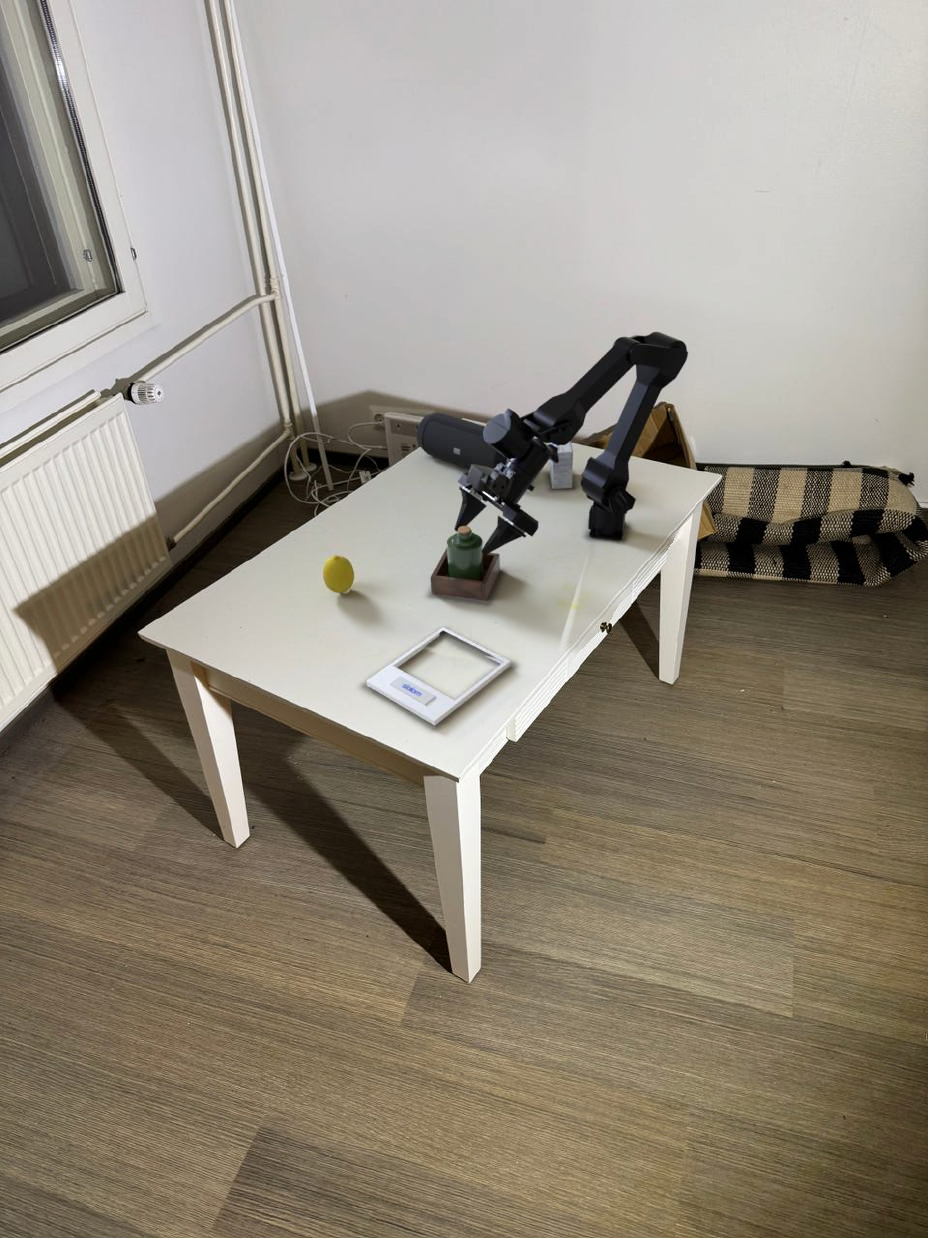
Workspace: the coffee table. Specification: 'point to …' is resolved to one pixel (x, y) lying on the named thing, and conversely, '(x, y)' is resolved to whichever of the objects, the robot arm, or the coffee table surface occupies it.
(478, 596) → the crate
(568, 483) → the medicine box
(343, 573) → the lemon
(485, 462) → the portable speaker
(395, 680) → the photo frame
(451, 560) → the bottle
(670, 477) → the coffee table surface
